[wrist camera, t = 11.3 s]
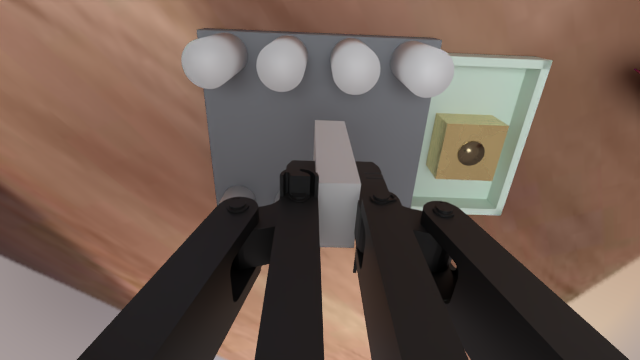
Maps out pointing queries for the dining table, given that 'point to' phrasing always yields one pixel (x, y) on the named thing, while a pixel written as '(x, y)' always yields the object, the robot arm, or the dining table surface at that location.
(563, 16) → the dining table surface
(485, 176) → the gold block with knob
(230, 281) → the robot arm
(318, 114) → the board
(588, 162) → the dining table surface
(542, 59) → the tray
